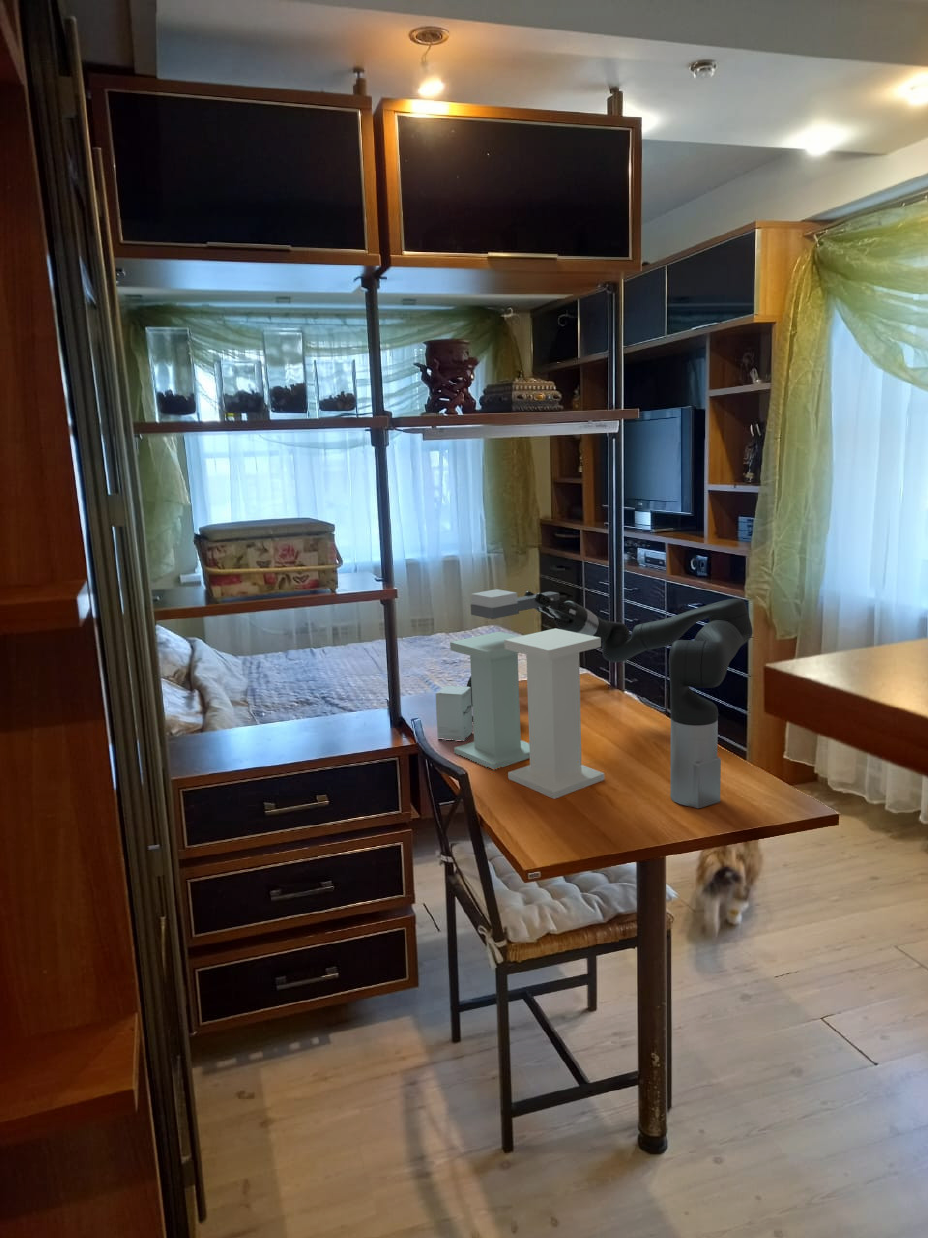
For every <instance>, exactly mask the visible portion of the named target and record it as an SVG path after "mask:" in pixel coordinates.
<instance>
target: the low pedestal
mask: <svg viewBox="0 0 928 1238" xmlns="http://www.w3.org/2000/svg"><path fill="white" fill-rule="evenodd" d="M519 636H520V635H515V634H511V633H509V632H508V633H506V632H503V631H495V632H491V633H486V634H482V635H477V636H473V637H467V638H462V639H459V640H454V641H450V642H449V648H450V652H451V651H452V652H454V653H455V652H456V653H459V654H462V655H467V656H469V659H470V661H469V663H470V677H471V685H472V706H473V707H472V716H473V724H472V728H473V741H471V742H469V743H466V744H461V745H459V746H454V748H453V749H454V750H453V751H454V754H455V753H456V754H455V755H457V754H458V755H457V756H459V755H461V756H463V757H462V758H464V757H466V758H468V759H470V760H469V761H471V760H472V761H471V762H473V761H474V762H473V763H475V762H477V763H476V764H478V763H479V764H478V765H480V764H481V765H480V766H482V765H484V766H485V768H487V767H490V768H492V769H496V768H499V767H502V768H504V767H507V766H510V765H514V764H516V763H519V762H522V761H525V760H528V759H530V749H529V742H527V741H525V740H522V739H521V738H522V737H521V736H522V735H521V734H522V733H521V711H520V709H521V707H520V706H521V705H520V686H519V684H520V683H519V682H520V681H519V656H518V655H519V654H520V653H519V652H515V651H511V650H507V649H505V642H504V640H506V639H510V638H515V637H519ZM461 756H460V757H461ZM466 758H465V759H466ZM468 759H467V760H468ZM484 766H483V767H484ZM499 769H500V768H499ZM496 770H497V769H496Z"/></svg>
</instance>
